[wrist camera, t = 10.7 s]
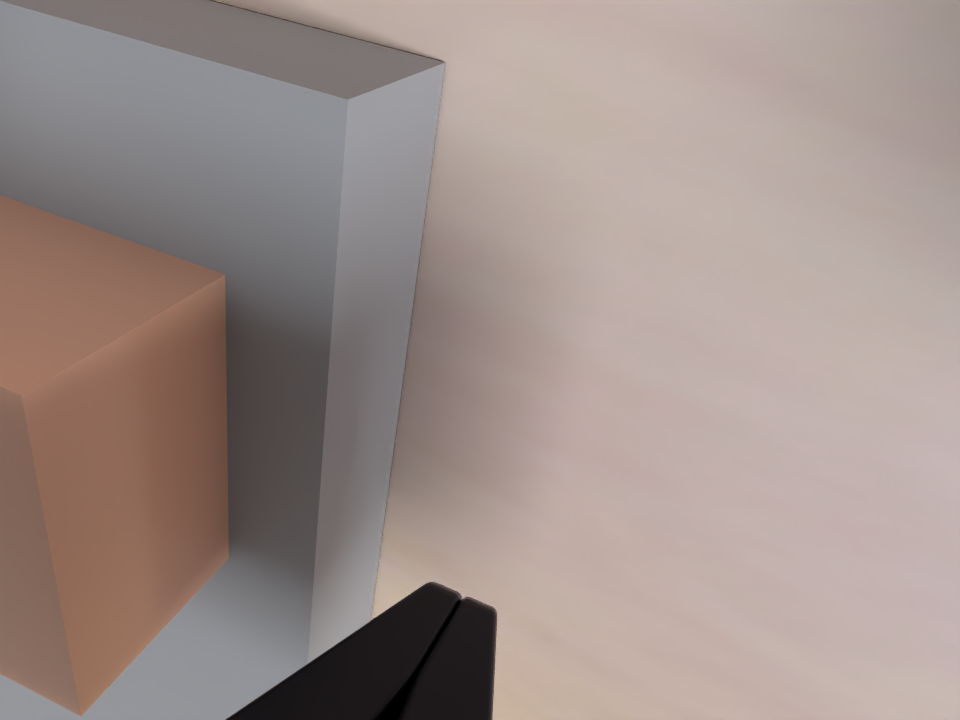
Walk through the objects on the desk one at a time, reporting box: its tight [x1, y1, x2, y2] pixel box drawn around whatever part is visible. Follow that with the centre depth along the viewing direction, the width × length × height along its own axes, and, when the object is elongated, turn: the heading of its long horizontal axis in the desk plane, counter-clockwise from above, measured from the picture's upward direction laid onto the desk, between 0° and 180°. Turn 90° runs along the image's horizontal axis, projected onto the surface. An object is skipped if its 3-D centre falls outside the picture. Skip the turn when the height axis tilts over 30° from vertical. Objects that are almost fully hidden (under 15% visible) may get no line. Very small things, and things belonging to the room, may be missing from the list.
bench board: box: [0, 0, 445, 720], centre depth 15 cm, size 18×11×2 cm, turn 170°
